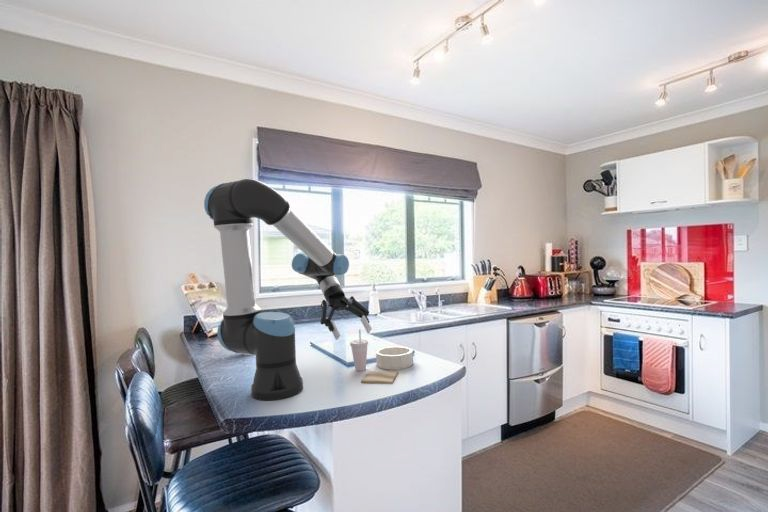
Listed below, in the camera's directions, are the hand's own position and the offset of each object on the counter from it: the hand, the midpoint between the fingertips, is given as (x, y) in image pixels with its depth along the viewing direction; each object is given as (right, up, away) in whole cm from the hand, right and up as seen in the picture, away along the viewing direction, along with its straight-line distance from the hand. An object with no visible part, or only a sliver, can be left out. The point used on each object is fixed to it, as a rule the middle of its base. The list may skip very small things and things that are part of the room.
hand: (354, 334), depth 139 cm
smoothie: (+3, -11, -5) cm, 13 cm away
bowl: (+15, -10, -2) cm, 18 cm away
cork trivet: (+10, -11, -16) cm, 21 cm away
